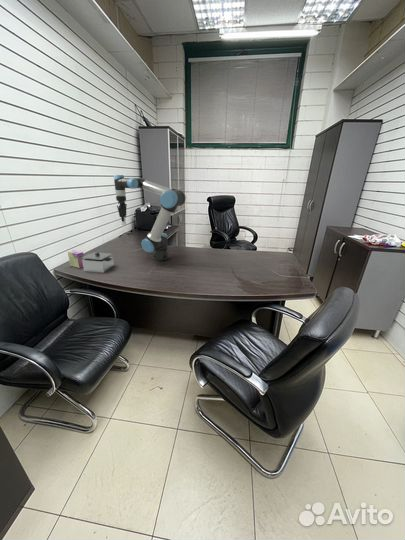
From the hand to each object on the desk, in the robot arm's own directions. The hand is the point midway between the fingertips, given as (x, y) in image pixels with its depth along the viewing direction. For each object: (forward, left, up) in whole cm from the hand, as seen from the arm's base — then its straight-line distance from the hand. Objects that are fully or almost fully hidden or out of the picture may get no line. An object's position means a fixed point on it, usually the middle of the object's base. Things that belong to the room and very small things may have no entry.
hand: (124, 224), depth 185 cm
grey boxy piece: (+10, +28, -29) cm, 42 cm away
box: (+29, +27, -30) cm, 49 cm away
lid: (+10, +28, -20) cm, 36 cm away
